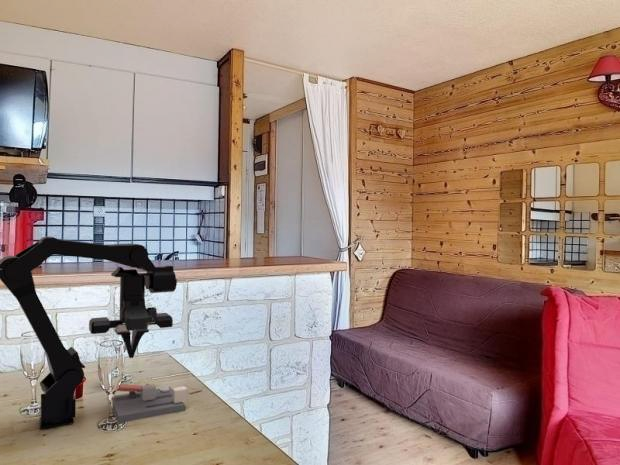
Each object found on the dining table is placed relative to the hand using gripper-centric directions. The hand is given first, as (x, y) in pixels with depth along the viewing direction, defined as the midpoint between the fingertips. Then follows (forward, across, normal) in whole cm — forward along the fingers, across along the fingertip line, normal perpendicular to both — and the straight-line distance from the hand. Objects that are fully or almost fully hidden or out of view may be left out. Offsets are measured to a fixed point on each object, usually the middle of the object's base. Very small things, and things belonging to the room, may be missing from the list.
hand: (131, 357), depth 114 cm
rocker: (+8, +1, +2) cm, 9 cm away
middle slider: (+10, +4, -2) cm, 11 cm away
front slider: (+10, +10, -7) cm, 16 cm away
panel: (+12, +4, -2) cm, 13 cm away
